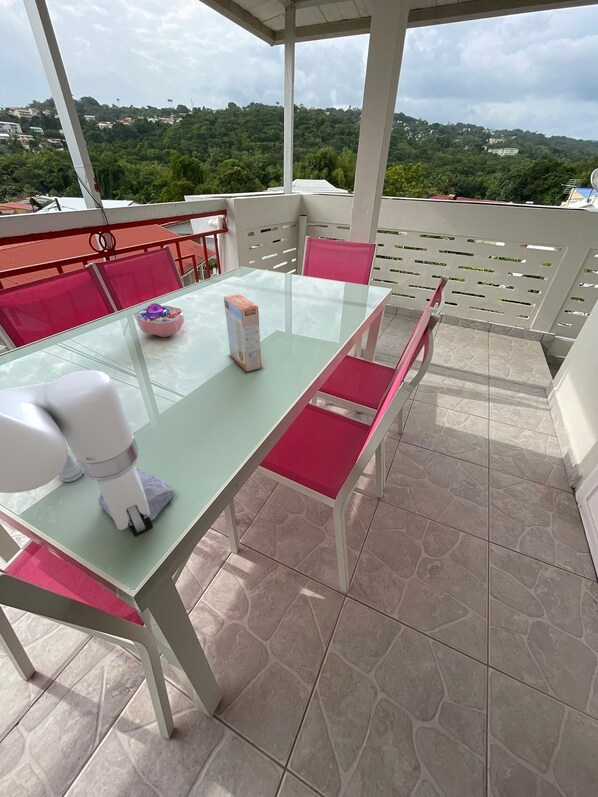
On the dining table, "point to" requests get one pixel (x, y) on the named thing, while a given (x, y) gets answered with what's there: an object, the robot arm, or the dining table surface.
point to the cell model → (160, 320)
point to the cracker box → (243, 331)
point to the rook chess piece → (70, 470)
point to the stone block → (150, 494)
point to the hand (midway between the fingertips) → (142, 529)
